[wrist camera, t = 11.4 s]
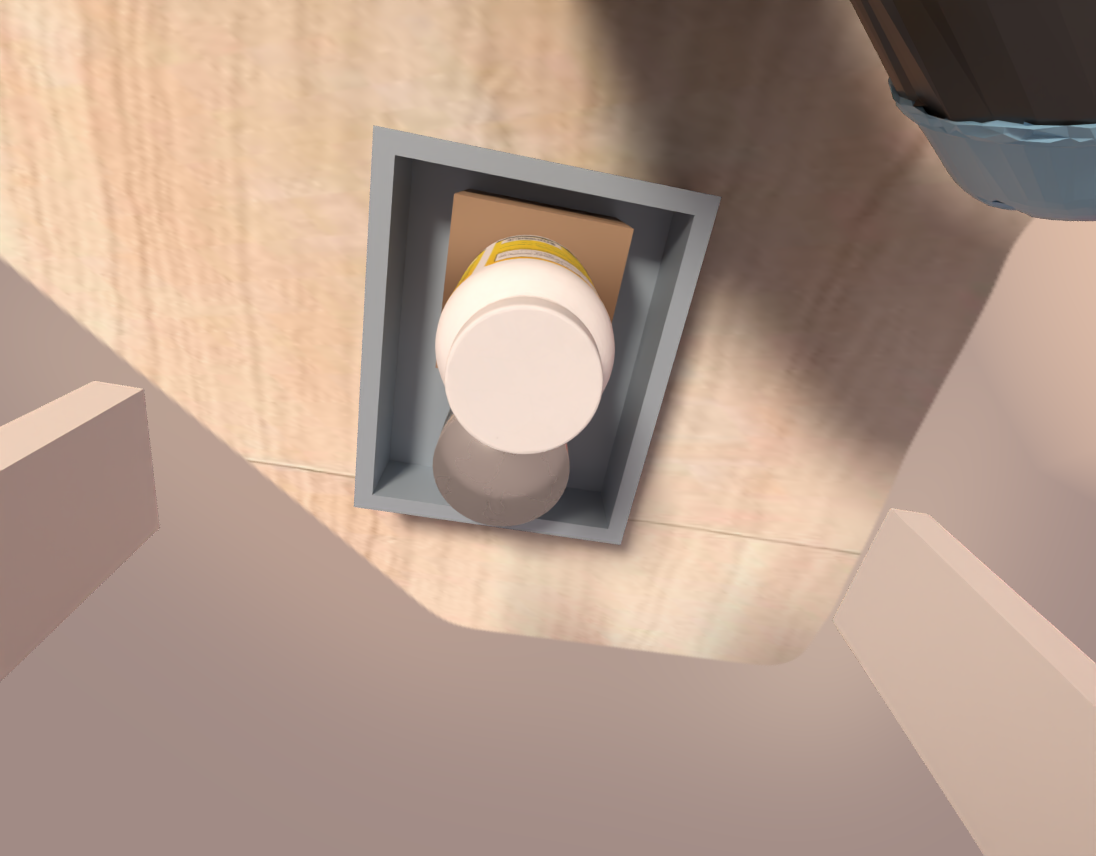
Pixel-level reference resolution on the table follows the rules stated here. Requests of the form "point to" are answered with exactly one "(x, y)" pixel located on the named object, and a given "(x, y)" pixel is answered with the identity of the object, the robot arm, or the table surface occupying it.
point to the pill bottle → (524, 346)
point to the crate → (416, 302)
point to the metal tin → (496, 478)
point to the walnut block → (501, 216)
